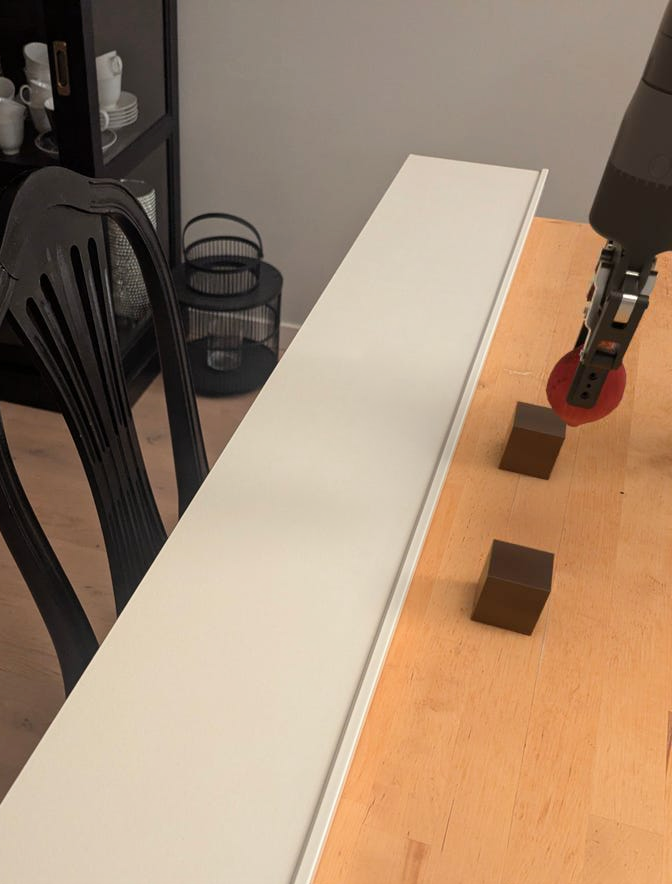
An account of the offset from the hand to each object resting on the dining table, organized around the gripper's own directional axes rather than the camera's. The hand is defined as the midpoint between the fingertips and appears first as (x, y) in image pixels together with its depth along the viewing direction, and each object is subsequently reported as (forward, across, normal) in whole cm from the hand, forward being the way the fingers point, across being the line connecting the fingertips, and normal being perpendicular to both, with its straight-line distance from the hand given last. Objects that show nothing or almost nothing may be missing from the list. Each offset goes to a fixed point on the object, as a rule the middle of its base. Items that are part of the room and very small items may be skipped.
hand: (580, 384), depth 73 cm
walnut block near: (+16, -10, +1) cm, 19 cm away
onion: (+4, 0, 0) cm, 4 cm away
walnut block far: (+16, +13, 0) cm, 20 cm away
